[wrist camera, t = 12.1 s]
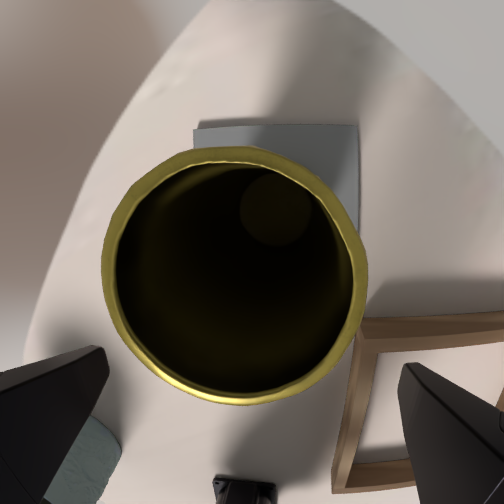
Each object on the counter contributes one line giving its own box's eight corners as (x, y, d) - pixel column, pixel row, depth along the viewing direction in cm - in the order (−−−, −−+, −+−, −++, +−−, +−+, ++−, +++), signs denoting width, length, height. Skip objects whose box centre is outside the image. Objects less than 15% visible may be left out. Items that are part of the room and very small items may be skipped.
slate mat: (353, 283, 20) (354, 286, 20) (203, 281, 22) (200, 284, 21) (355, 126, 18) (357, 125, 18) (196, 130, 20) (193, 129, 19)
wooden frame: (480, 449, 23) (488, 467, 20) (330, 470, 25) (331, 494, 22) (537, 307, 19) (556, 321, 16) (357, 318, 21) (364, 339, 18)
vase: (330, 161, 18) (411, 131, 5) (322, 261, 20) (359, 431, 6) (228, 155, 19) (77, 129, 5) (225, 253, 21) (103, 394, 7)
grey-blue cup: (133, 435, 27) (80, 520, 16) (123, 476, 30) (84, 544, 19) (54, 388, 28) (-12, 452, 16) (56, 436, 31) (8, 493, 19)
